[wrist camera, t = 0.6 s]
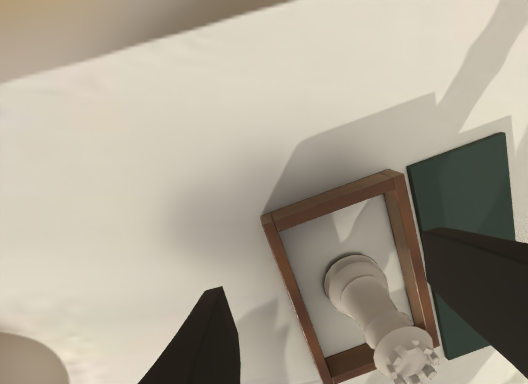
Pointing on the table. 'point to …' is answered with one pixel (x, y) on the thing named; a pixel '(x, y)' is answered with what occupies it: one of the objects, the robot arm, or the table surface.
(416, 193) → the desk mat
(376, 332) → the rook chess piece
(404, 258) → the desk tray
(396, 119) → the table surface
